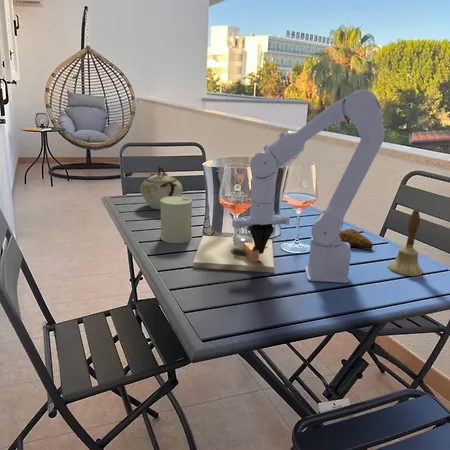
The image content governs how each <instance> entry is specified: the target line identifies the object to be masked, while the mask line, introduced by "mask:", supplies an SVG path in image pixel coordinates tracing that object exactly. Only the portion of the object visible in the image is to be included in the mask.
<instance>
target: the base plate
mask: <svg viewBox="0 0 450 450" xmlns="http://www.w3.org/2000/svg"><path fill="white" fill-rule="evenodd" d="M233 237H234V236H232V237H231V236H214V235H202V237H201V240H200V243H199V245H198V248H197V250H196V253H195V256H194V259H193V262H192V266H193V267H192V268H193V269H195V268H196V269H210V270H211V269H212V270H226V271H227V270H229V271H242V272H244V271H245V272H256V273H257V272H259V273H275V270H274V269H275V265H274V264H275V263H274V251H273V249H274V248H273V240H272V239H270V238H269V239H268V241H267V243H266V246H265V249H264V252H263V254H259V261H253V262H252V261H251V260H250V259H249V258H248V257H247V256H246V255H245V254H240V253H236V252H234V251H233V247H234V241H233ZM251 238H252V239H253V237H251ZM253 245H254V246H255V244H254V240H253Z"/></svg>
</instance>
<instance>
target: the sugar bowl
mask: <svg viewBox="0 0 450 450" xmlns="http://www.w3.org/2000/svg"><path fill="white" fill-rule="evenodd" d="M157 170H158V173H157V174H155V173H151V174H150V176H149V177H147V178H146V179H145V180H144V181H143V182H142V183H141V185H140V193H141V196H142V198H143V200H144V201H145V202H146V203H147V205H148V206H149V207H150V208H151V209H153V210H160V211H161V203H160V200H161V199H162V198H164V197H170V196H181V197H182V195H183V186H182V183H181V182H180V181H179V180H178V179H177V178H176V177H173V176H171V175H169V174H167V172H165V170H164V168H163V166H162V165H158V167H157Z"/></svg>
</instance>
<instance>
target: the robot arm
mask: <svg viewBox="0 0 450 450" xmlns="http://www.w3.org/2000/svg"><path fill="white" fill-rule="evenodd" d="M382 112H383V111H382V106H381V104H380V102H379V101H378V98H377V97H376V95H375V94H374V93H373V92H372V91H371V90H368V89H359V90H355V91H353V92H352V93H350V94H348V96H346V97H344V98H341V99H339V100H337V101H336V102H334V103H332V104H331V105H329V106H328V107H326V108H325V109H324V110H323V111H322V112H320V113H319V114H318V115H316V116H315V117H314V118H312V119H311V120H310V121H308V123H306V124H305V125H304V126H302V127H301V128H299V130H297V131H296V130H288V131H286V132H285V131H283V132H280V133H279V134H278V136H279V137H278V138H277V139H275V140H274V141H273V142H272V143H270V144H269V145H268V144H266V145H264V146H263V151H261V152H257V153H255V155H254V156H253V157H252V158H251V160H250V163H249V169H250V171H251V173H252V175H251V176H252V179H251V186H250V187H251V188H250V189H251V191H250V207H249V208H250V210H249V215H246V216H241V217H234V218H232V222H231V223H232V224H231V226H232V227H233V228H234V229H239V228H241V227H243V228H245V227H248V230H249V231H250V234H251V238H253V240H254V244H255V247H256V248H257V249H258V250H259V254H263V252H264V249H265V246H266V243H267V241H268V239H270V238H271V236H272V234H273V233H274V231H275V228H274V226H275V225H276V226H277V225H286V226H287V225H290V219H291V217H290V216H288V215H286V214H284V215H283V214H282V215H281V214H274V210H275V209H274V206H275V193H276V175H277V173H276V171H278V169H279V167H283V166H284V165H286V164H287V163H288V162H290V161H291V160H293V159H294V158H295V157H297V156H298V155H299V154H301V153H302V152H304V149H305V144H306V142H308V141H309V140H311V139H313V137H315V136H316V135H318V134H319V133H321V132H322V131H323V130H325V129H326V128H328V127H329V126H331V125H332V124H335V123H340V122H341V123H342V122H346V121H347V120H350V122H351V123H353V125H355V127H356V130H357V132H358V136H359V137H360V139H359V140H360V141H359V143H358V144H357V147H356V149H355V151H354V153H353V154H352V156H351V159H350V161H349V162H348V164H347V167H346V169H345V171H344V172H343V174H342V177H340V178H341V179H340V180H339V183H338V185H336V186H337V187H336V189H335V190H334V192H333V194H332V197H331V198H330V201H329V203H328V204H327V207H326V208H325V210H323V211H322V212H320V213H319V215H318V216H317V217H316V222H314V224H313V225H312V227H311V237H310V248H309V258H308V265H305V266H304V270H305V275H306V279H307V280H308V281H309V282H310V281H311V282H325V283H342V284H343V283H344V284H348V283H349V280H348V279H349V273H350V272H349V271H350V263H351V256H352V255H351V252H352V251H351V249H352V248H351V246H350V244H349V243H348V242H342V239H341V238H340V236H339V233H340V231H342V228H343V226H344V219H345V216H346V214H347V212H348V209H349V208H350V207H351V204H352V202H353V200H354V198H355V196H356V195H357V193H358V191H359V188H360V187H361V185H362V183H363V181H364V179H365V177H366V175H367V173H368V172H369V169H370V168H371V165H372V163H373V162H374V160H375V158H376V157H377V154H378V152H379V151H380V148H381V147H382V144H383V143H384V140H385V135H386V133H385V126H384V120H383V113H382ZM273 225H274V226H273Z"/></svg>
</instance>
